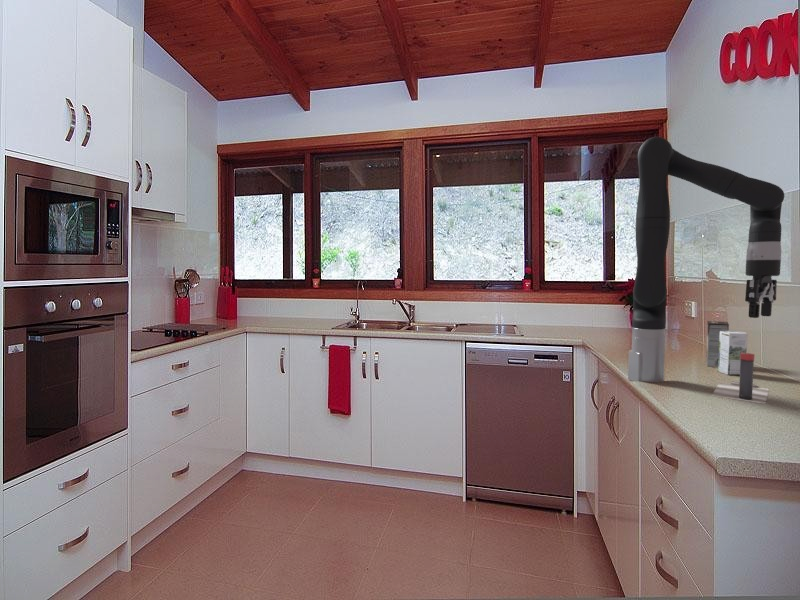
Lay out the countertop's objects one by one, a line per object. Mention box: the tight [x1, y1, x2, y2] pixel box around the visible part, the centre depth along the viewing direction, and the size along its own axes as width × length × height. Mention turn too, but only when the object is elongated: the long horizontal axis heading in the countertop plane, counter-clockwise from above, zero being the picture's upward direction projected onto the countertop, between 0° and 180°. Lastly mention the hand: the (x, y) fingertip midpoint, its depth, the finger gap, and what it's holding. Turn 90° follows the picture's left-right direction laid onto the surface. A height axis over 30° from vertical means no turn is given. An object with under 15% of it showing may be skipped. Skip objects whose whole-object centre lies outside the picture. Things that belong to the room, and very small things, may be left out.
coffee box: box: [705, 320, 730, 368], centre depth 168 cm, size 9×6×16 cm
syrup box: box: [717, 330, 749, 376], centre depth 154 cm, size 6×6×14 cm
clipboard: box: [711, 381, 770, 404], centre depth 127 cm, size 22×14×2 cm, turn 139°
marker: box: [739, 352, 755, 400], centre depth 120 cm, size 3×3×12 cm
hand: (759, 316), depth 126 cm, fingers open, 8 cm apart
